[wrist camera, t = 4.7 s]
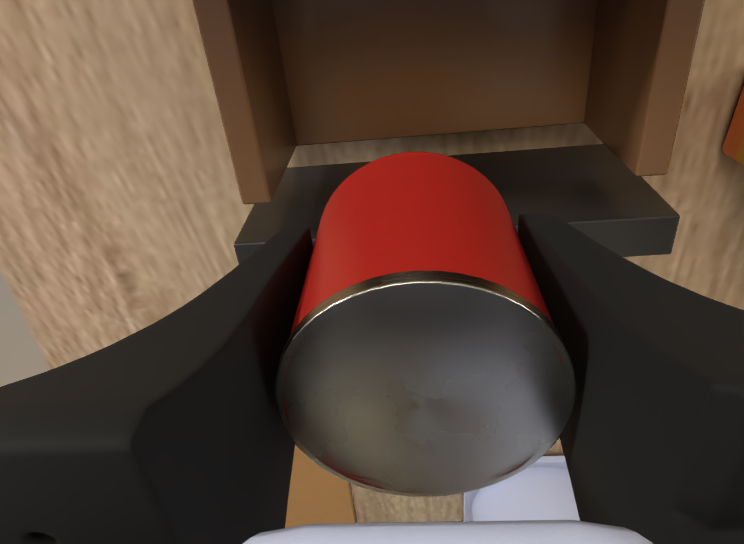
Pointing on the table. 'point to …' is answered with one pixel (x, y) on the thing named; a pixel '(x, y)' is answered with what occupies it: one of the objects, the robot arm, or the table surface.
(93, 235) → the table surface
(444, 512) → the table surface
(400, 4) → the drawer
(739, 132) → the supplement box
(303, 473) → the trivet
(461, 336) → the tin
